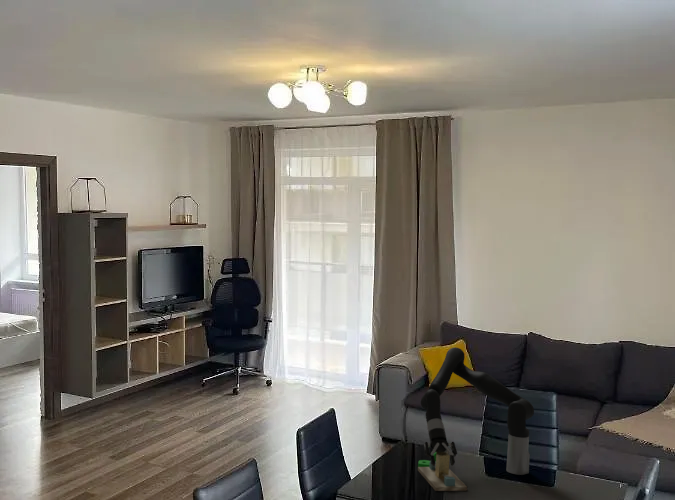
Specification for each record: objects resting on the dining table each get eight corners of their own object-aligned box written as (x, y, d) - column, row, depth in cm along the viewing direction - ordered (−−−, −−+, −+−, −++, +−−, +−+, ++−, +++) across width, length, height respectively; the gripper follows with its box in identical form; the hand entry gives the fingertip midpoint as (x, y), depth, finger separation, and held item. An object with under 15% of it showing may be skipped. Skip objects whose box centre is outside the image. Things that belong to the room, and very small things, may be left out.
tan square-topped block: (444, 474, 300) (446, 452, 300) (448, 478, 296) (449, 455, 296) (435, 474, 300) (436, 452, 299) (438, 478, 295) (439, 455, 295)
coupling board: (446, 469, 311) (447, 460, 311) (466, 490, 287) (467, 479, 287) (417, 470, 309) (418, 460, 309) (435, 490, 284) (436, 480, 284)
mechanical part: (443, 466, 317) (444, 449, 317) (444, 470, 311) (445, 453, 311) (418, 463, 318) (419, 446, 318) (418, 468, 312) (419, 450, 312)
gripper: (448, 435, 311) (456, 468, 300) (419, 435, 309) (425, 468, 298) (453, 427, 306) (461, 460, 295) (423, 427, 303) (430, 461, 292)
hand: (443, 464), depth 296 cm, fingers open, 8 cm apart
